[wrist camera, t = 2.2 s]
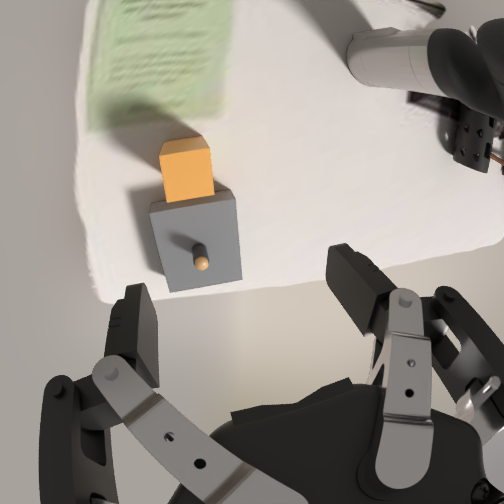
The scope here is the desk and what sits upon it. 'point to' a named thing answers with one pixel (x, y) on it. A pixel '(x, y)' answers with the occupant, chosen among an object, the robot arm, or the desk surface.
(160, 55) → the desk surface
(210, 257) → the flat gray square block
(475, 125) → the muzzle brake
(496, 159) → the hammer
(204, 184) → the tall orange cuboid
